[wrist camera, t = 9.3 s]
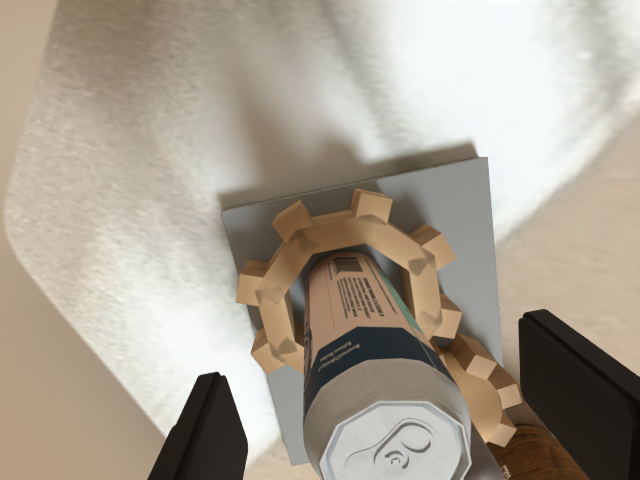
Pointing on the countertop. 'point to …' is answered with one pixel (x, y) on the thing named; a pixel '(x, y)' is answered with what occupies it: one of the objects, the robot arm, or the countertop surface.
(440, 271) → the gear board
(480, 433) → the small gear
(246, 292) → the oak gear
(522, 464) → the utensil holder
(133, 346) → the countertop surface
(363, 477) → the beer can
